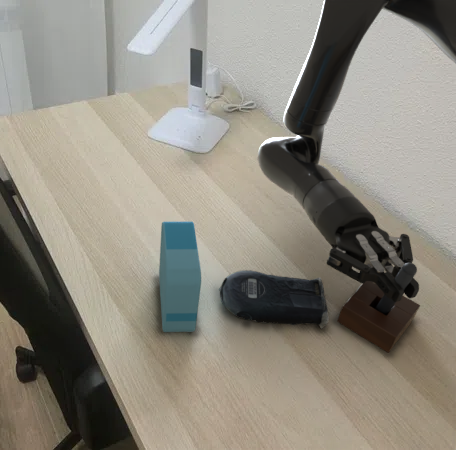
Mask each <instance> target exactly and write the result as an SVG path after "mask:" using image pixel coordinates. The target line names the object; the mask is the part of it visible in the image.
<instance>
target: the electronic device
mask: <svg viewBox="0 0 456 450" xmlns="http://www.w3.org/2000/svg"><path fill="white" fill-rule="evenodd" d="M218 290H219V298H220V302H221V303H222V305H223V306H224V307H225V309H226V310H227V311H228V312H230V313H231V314H232V315H233V316H235V317H237V318H240V319H242V320H245V321H246V320H248V321H251V322H256V323H261V324H277V325H278V324H279V325H308V324H310V325H313V324H314V325H317V326H319V327H320V329H324V327H326V326H327V325H328V323H329V320H330V317H329V313H328V306H327V301H326V295H325V289H324V285H323V279H322V277H316V278H312V279H306V278H299V277H298V278H297V277H290V276H289V277H288V276H280V275H274V274H267V273H263V272H260V271H255V270H249V269H247V270H244V269H243V270H242V269H241V270H238V271H235V272H233V273H230V274H229V275H227V276H226V277H225V278H224V280H223V281H222V283H221V286H220V287H219V289H218Z"/></svg>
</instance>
